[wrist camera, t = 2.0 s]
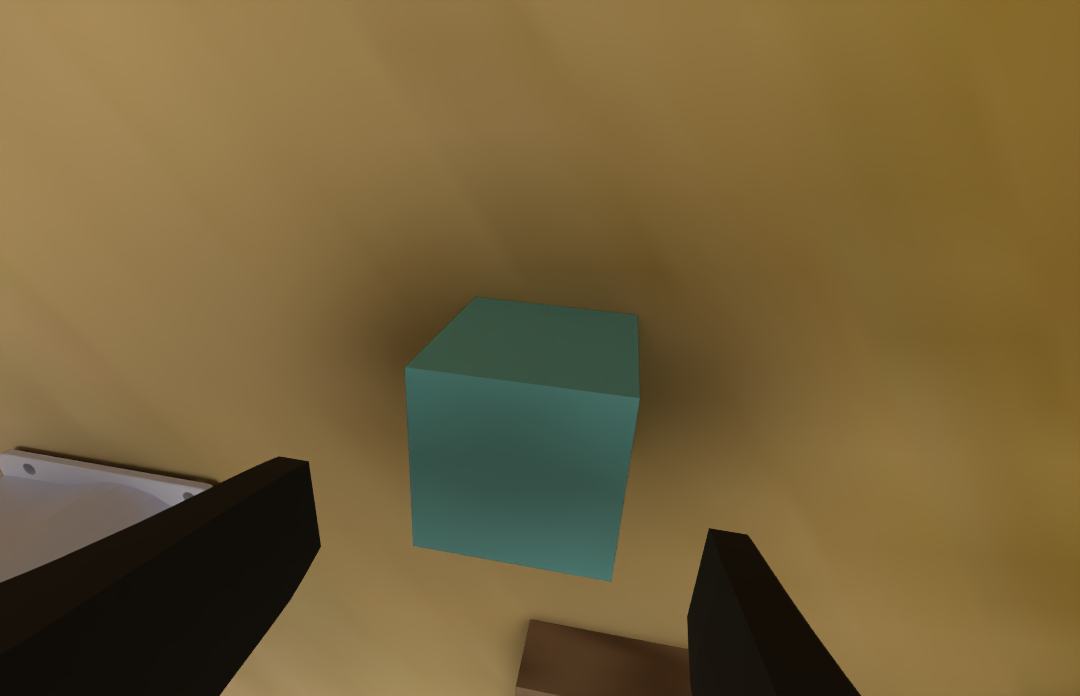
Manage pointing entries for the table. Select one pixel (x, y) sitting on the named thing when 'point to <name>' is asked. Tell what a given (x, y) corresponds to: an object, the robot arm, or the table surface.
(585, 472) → the teal block
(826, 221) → the table surface
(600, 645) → the bottom slab
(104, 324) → the table surface
